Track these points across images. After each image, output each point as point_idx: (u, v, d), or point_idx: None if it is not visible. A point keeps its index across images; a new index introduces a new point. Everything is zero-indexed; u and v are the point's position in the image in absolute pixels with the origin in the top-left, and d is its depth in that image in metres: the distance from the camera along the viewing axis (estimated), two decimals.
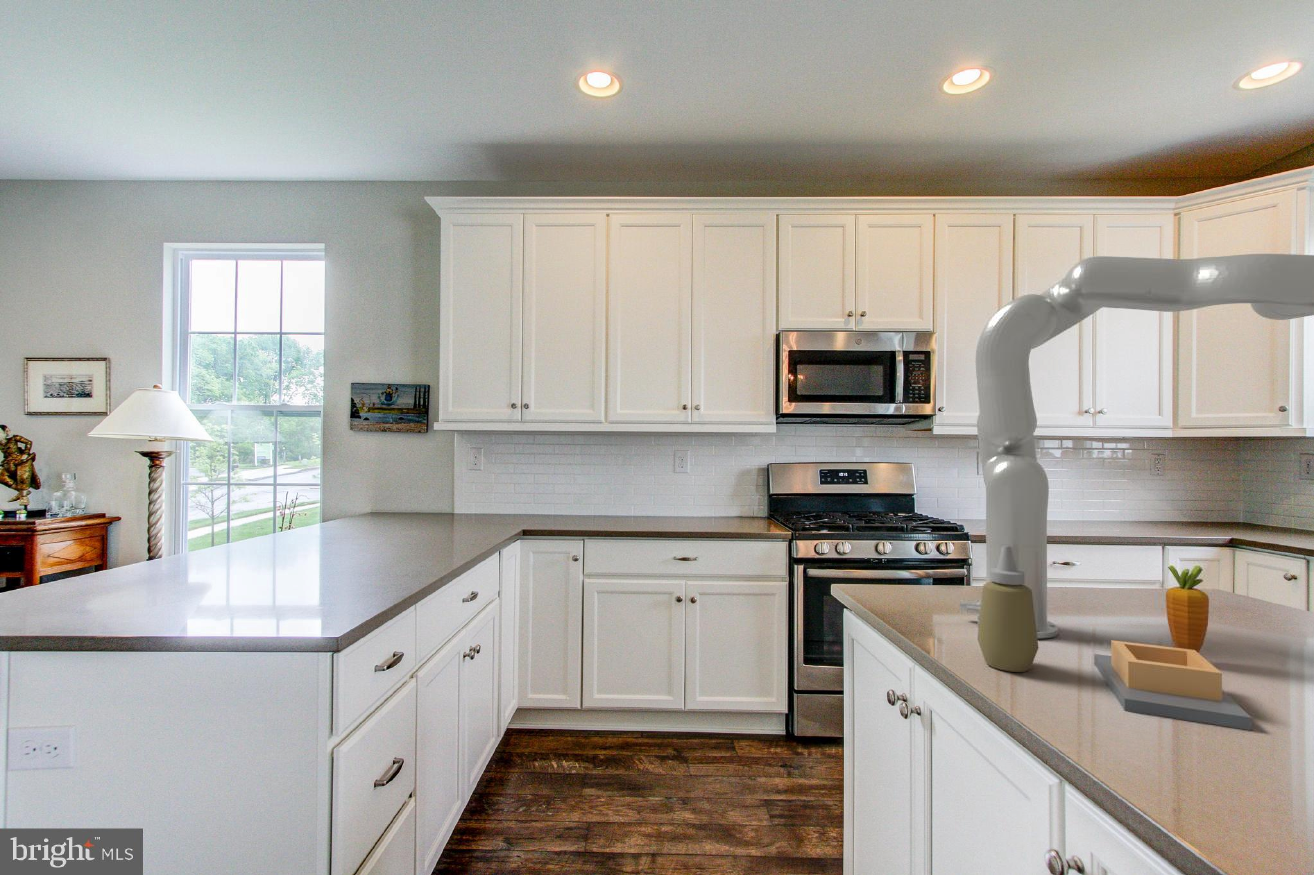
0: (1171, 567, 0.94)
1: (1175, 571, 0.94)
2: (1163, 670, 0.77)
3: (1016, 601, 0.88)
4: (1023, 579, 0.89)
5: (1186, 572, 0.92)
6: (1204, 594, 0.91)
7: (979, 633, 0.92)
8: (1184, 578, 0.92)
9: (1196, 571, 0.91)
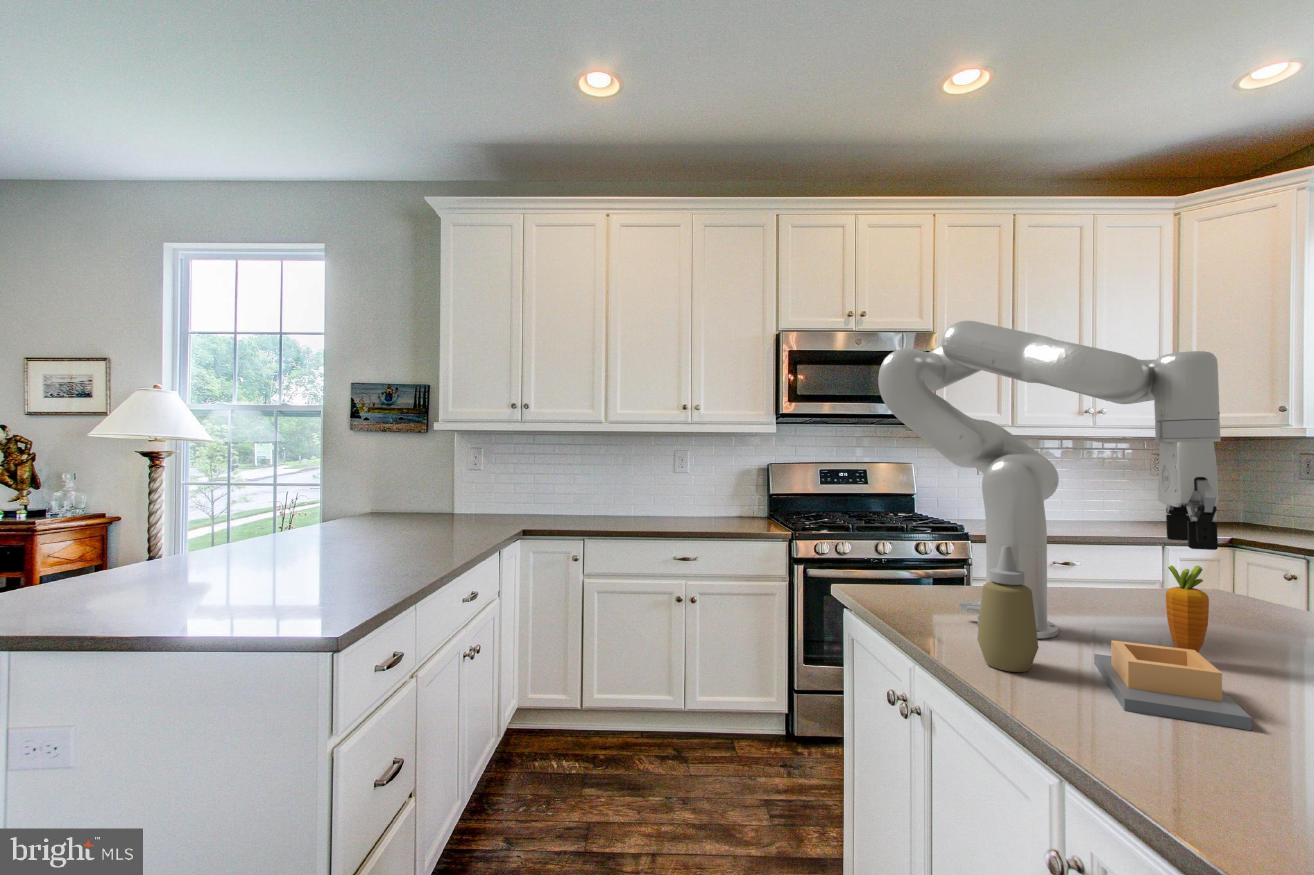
0: (1171, 567, 0.94)
1: (1175, 571, 0.94)
2: (1163, 670, 0.77)
3: (1016, 601, 0.88)
4: (1023, 579, 0.89)
5: (1186, 572, 0.92)
6: (1204, 594, 0.91)
7: (979, 633, 0.92)
8: (1184, 578, 0.92)
9: (1196, 571, 0.91)
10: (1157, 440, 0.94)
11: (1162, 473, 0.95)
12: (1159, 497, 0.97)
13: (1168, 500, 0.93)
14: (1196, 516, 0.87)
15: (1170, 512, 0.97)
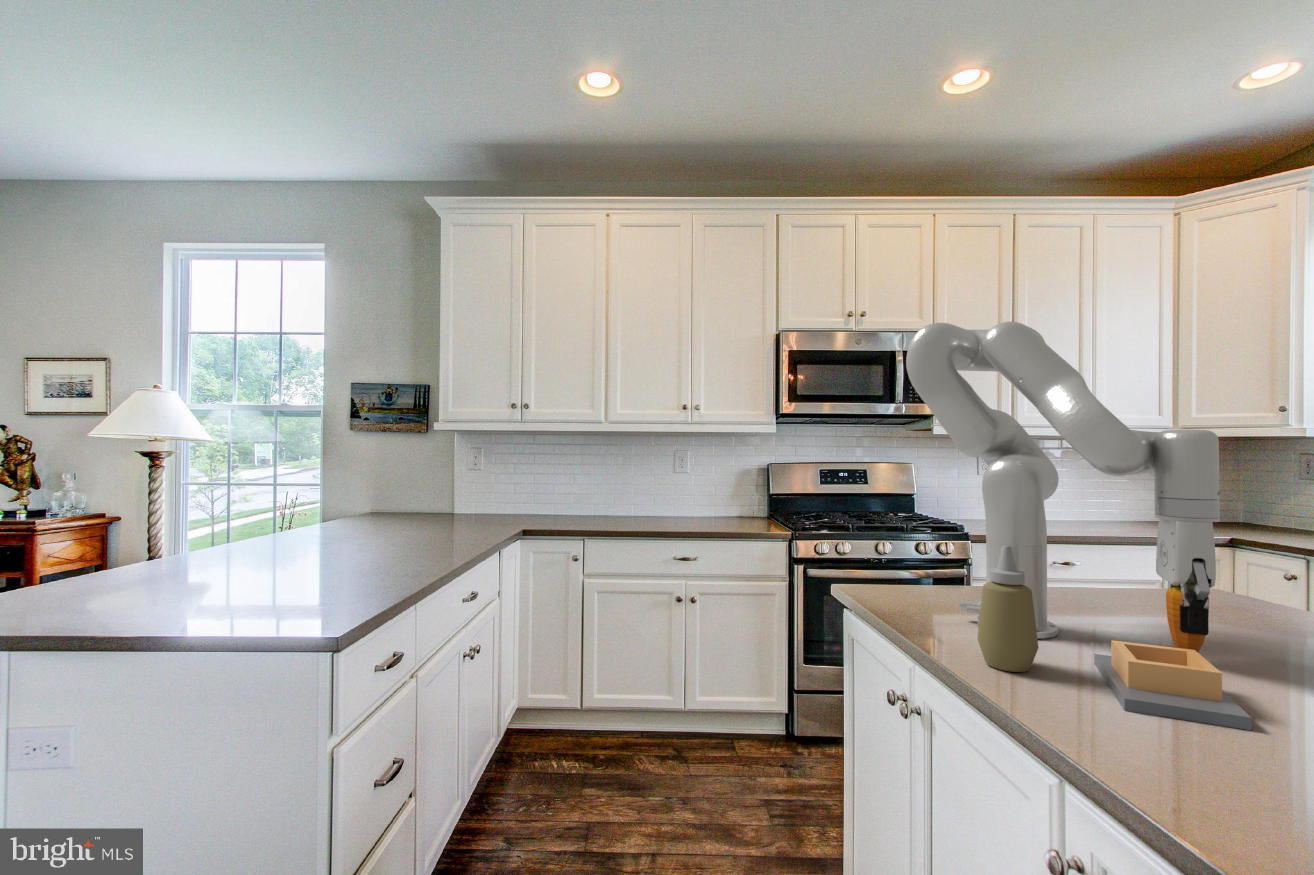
0: None
1: None
2: (1163, 670, 0.77)
3: (1016, 601, 0.88)
4: (1023, 579, 0.89)
5: None
6: None
7: (979, 633, 0.92)
8: None
9: None
10: (1156, 515, 0.94)
11: (1160, 547, 0.95)
12: (1157, 570, 0.97)
13: (1166, 576, 0.93)
14: (1188, 602, 0.89)
15: None
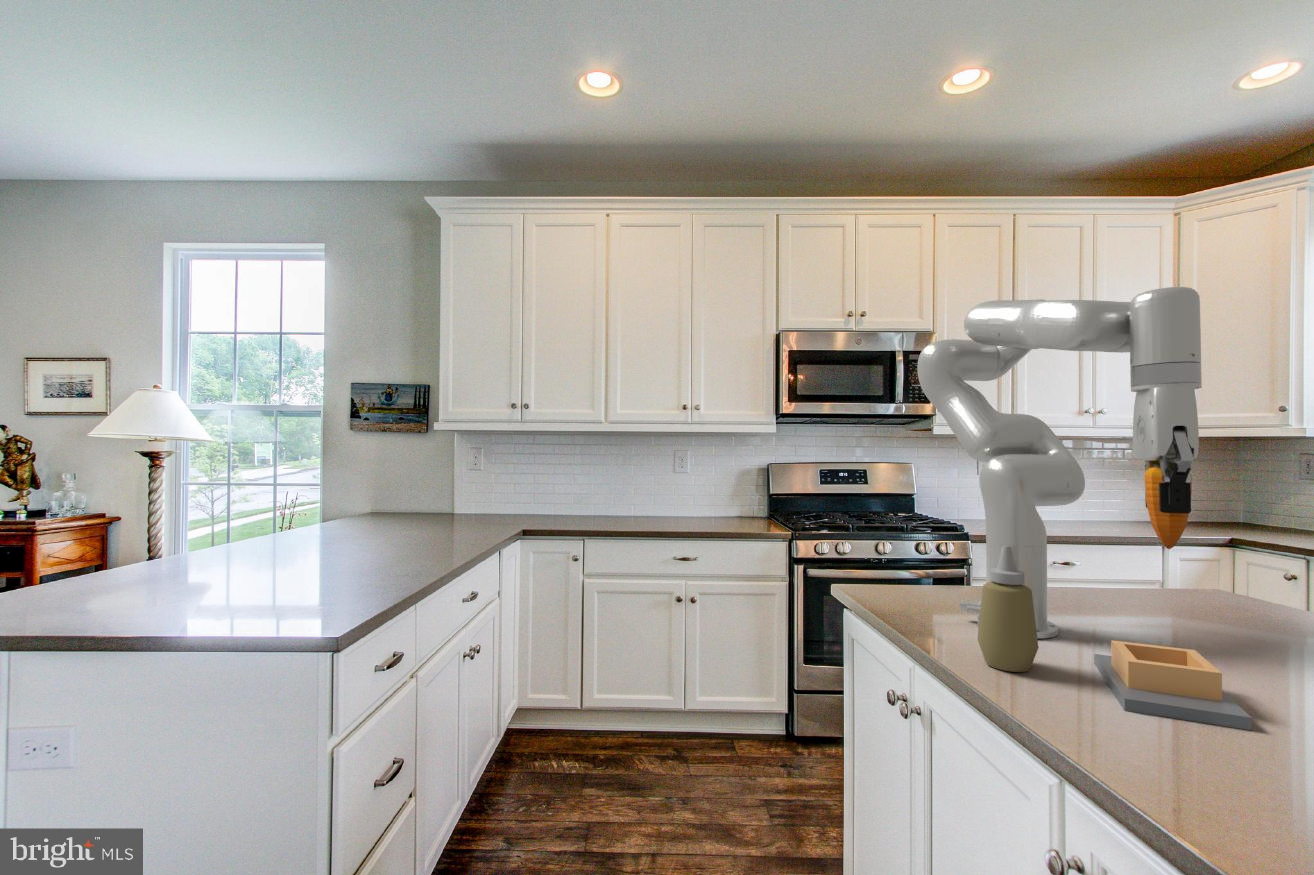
0: None
1: None
2: (1163, 670, 0.77)
3: (1016, 601, 0.88)
4: (1023, 579, 0.89)
5: None
6: None
7: (979, 633, 0.92)
8: None
9: None
10: (1132, 388, 0.85)
11: (1137, 425, 0.86)
12: (1133, 453, 0.88)
13: (1143, 454, 0.83)
14: (1168, 477, 0.80)
15: None
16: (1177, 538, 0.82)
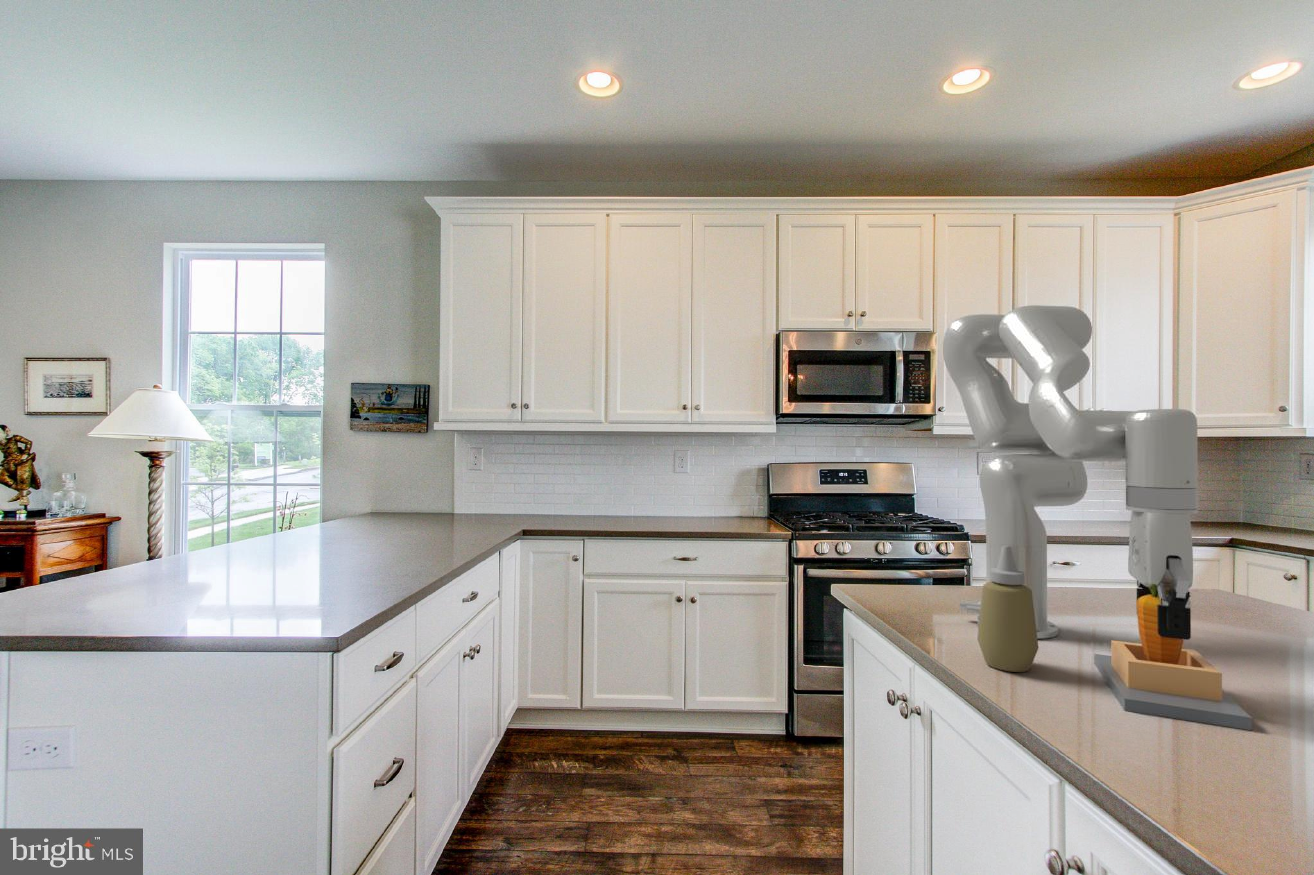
0: None
1: None
2: (1163, 670, 0.77)
3: (1016, 601, 0.88)
4: (1023, 579, 0.89)
5: None
6: None
7: (979, 633, 0.92)
8: (1156, 585, 0.81)
9: None
10: (1127, 507, 0.83)
11: (1132, 544, 0.84)
12: (1129, 569, 0.86)
13: (1137, 576, 0.82)
14: (1167, 601, 0.76)
15: (1141, 586, 0.86)
16: None
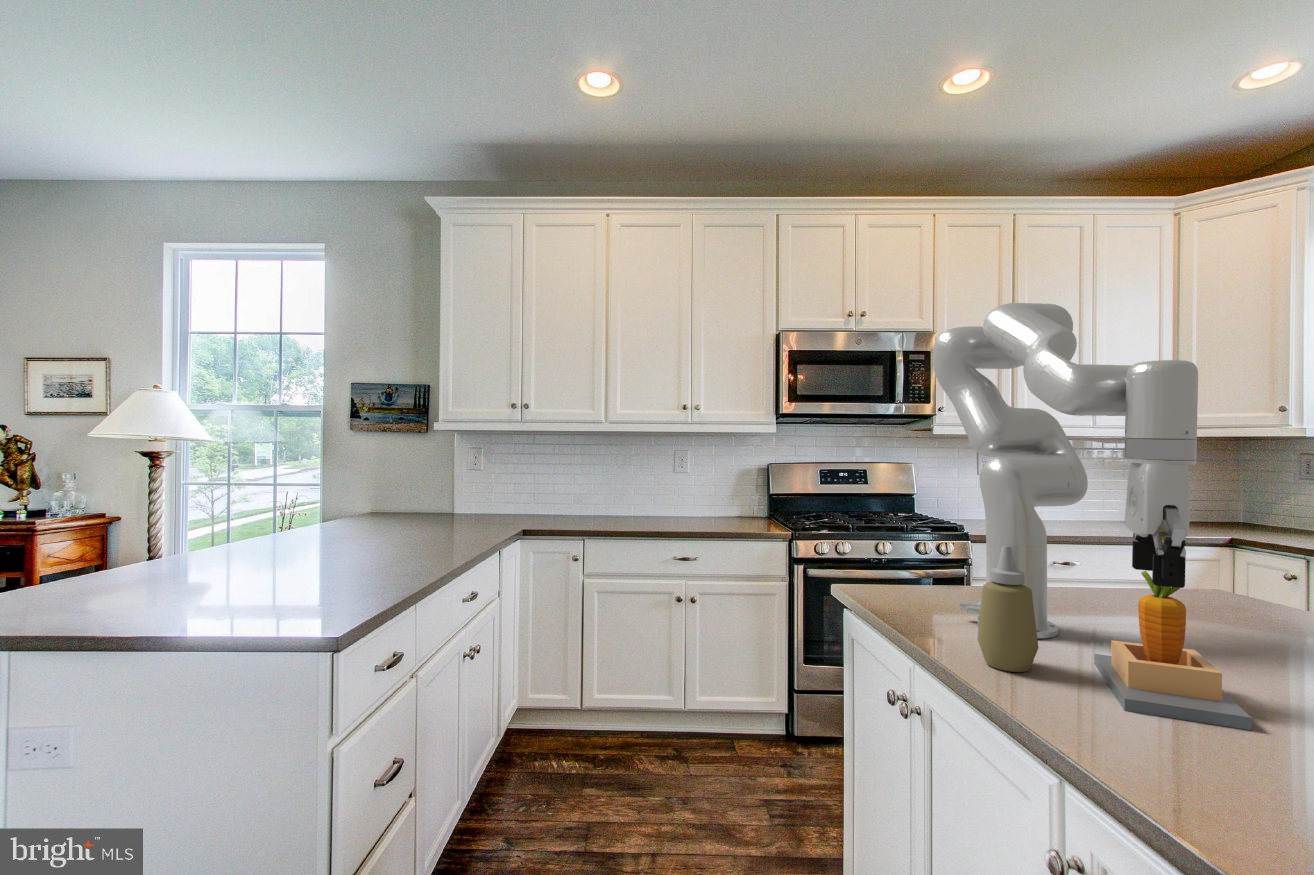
0: (1144, 573, 0.83)
1: (1149, 577, 0.83)
2: (1163, 670, 0.77)
3: (1016, 601, 0.88)
4: (1023, 579, 0.89)
5: None
6: (1181, 604, 0.80)
7: (979, 633, 0.92)
8: None
9: None
10: (1126, 459, 0.83)
11: (1130, 496, 0.84)
12: (1125, 522, 0.86)
13: (1134, 528, 0.82)
14: (1162, 550, 0.77)
15: (1137, 538, 0.87)
16: None
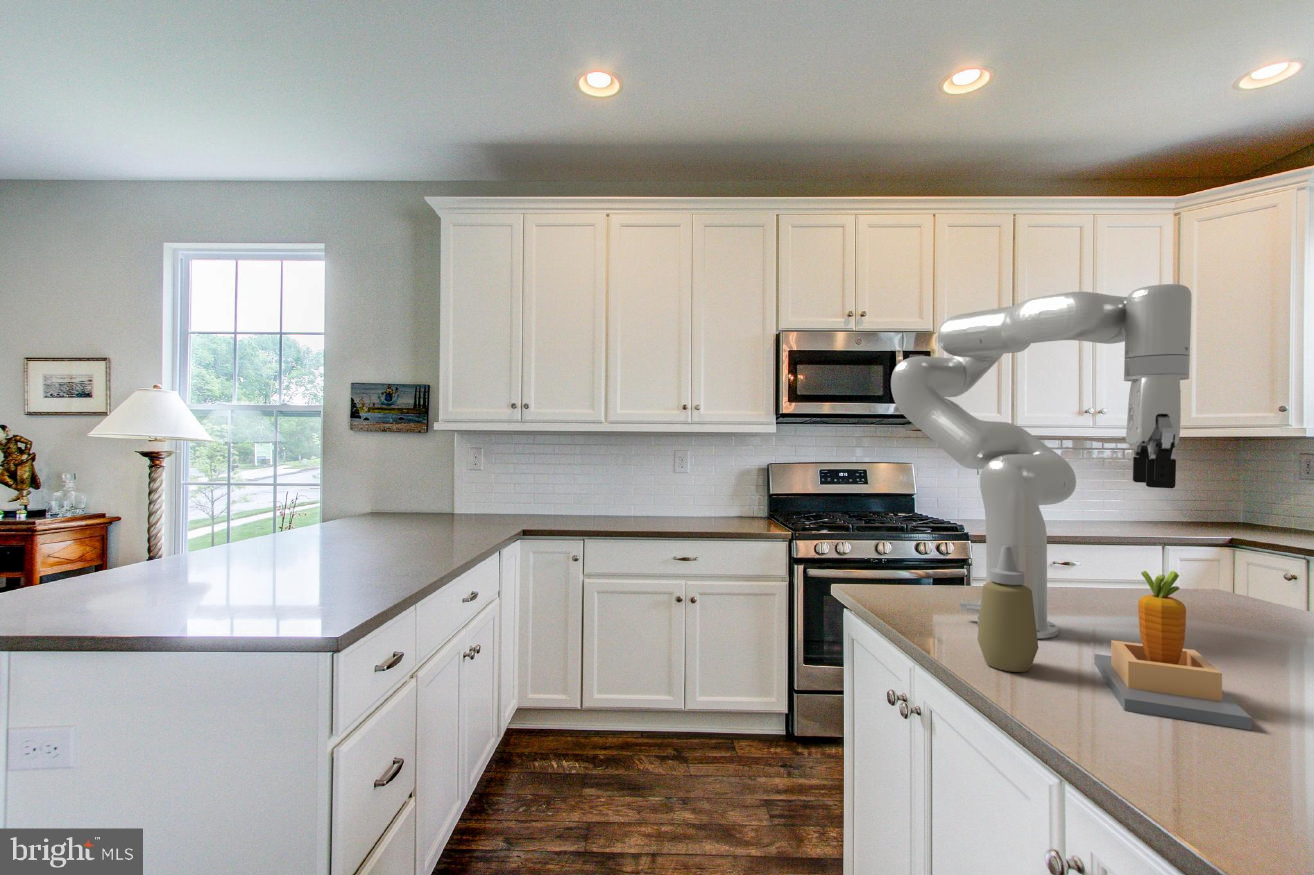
0: (1144, 573, 0.83)
1: (1149, 577, 0.83)
2: (1163, 670, 0.77)
3: (1016, 601, 0.88)
4: (1023, 579, 0.89)
5: (1160, 578, 0.81)
6: (1180, 604, 0.80)
7: (979, 633, 0.92)
8: (1158, 585, 0.81)
9: (1172, 577, 0.80)
10: (1124, 378, 0.91)
11: (1129, 413, 0.92)
12: (1126, 438, 0.94)
13: (1131, 439, 0.90)
14: (1154, 453, 0.85)
15: (1137, 454, 0.95)
16: None
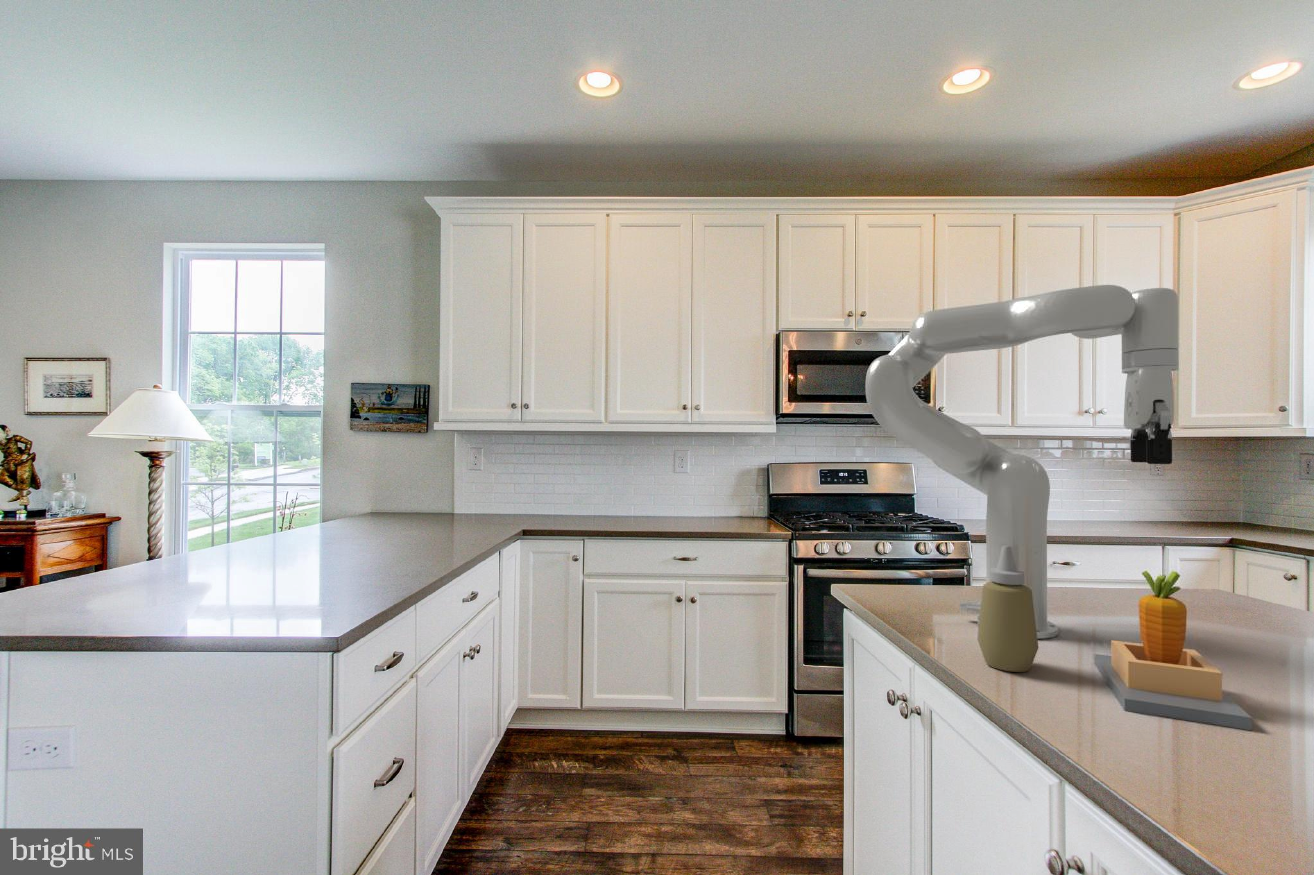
0: (1145, 573, 0.83)
1: (1149, 577, 0.82)
2: (1163, 670, 0.77)
3: (1016, 601, 0.88)
4: (1023, 579, 0.89)
5: (1161, 579, 0.80)
6: (1181, 604, 0.80)
7: (979, 633, 0.92)
8: (1159, 585, 0.81)
9: (1172, 578, 0.80)
10: (1123, 370, 1.04)
11: (1127, 401, 1.05)
12: (1124, 423, 1.07)
13: (1131, 423, 1.03)
14: (1153, 434, 0.98)
15: (1134, 437, 1.08)
16: None
